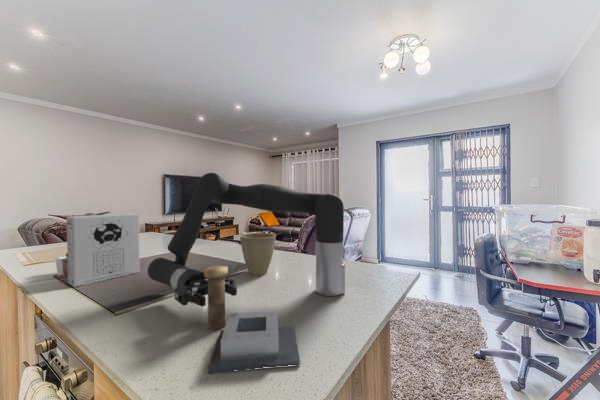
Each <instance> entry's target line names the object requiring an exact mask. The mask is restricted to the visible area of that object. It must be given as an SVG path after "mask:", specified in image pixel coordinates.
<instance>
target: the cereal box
mask: <svg viewBox="0 0 600 400" xmlns="http://www.w3.org/2000/svg"><path fill="white" fill-rule="evenodd" d="M139 217H140V216H139V214H138V213H133V212H132V213H131V212H130V213H114V214H113V213H111V214H96V215H94V214H91V215H75V216H67V217H66V243H67V244H66V245H67V246H66V247H67V248H66V249H67V252H66V253H67V257H68V278H67V283H69V285H71V286H72V287H73V288H77V287H76V286H79V287H81V286H80V285H83V286H86V285H85V284H87V285H91V284H90V283H92V284H95V283H94V282H96V283H99V282H98V281H101V282H104V281H103V280H105V281H108V280H107V279H109V280H112V279H111V278H114V279H117V278H116V277H118V278H121V277H120V276H123V277H125V276H124V275H127V276H130V275H129V274H131V275H133V274H132V273H136V274H138V273H137V272H139V273H140V272H141V271H140V230H139V229H140V219H139Z"/></svg>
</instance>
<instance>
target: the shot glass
mask: <svg viewBox="0 0 600 400" xmlns="http://www.w3.org/2000/svg"><path fill="white" fill-rule="evenodd" d="M65 258H67V257H66V255H63V256H59V257H56V258H55V266H56V267H55V268H56V274H57V276H60V275H63V261H62V259H65Z"/></svg>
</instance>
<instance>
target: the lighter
mask: <svg viewBox="0 0 600 400" xmlns="http://www.w3.org/2000/svg"><path fill="white" fill-rule="evenodd" d="M65 256H66V257H67V252H66V253H65ZM62 261H63V276H62V279H64V278H65V279H68V257H67V258H65V259H62Z"/></svg>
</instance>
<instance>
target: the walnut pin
mask: <svg viewBox="0 0 600 400" xmlns="http://www.w3.org/2000/svg"><path fill="white" fill-rule="evenodd" d="M203 272H204V277H206V278H208V295H207V315H208V316H207V317H208V318H207V323H208V325H207V327H208V328H207V329H208V330H210V331H213V332H214V331H221V330H223V329H225V326H226V292H225V278H226V277H227V276H228V275H229V267H228V266H226V265H213V266H209V267H206V268H204V271H203Z"/></svg>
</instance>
